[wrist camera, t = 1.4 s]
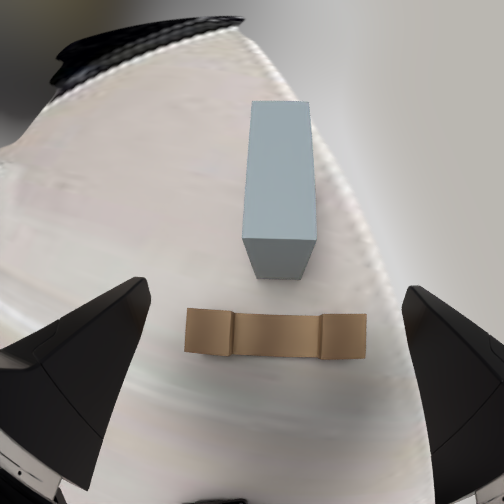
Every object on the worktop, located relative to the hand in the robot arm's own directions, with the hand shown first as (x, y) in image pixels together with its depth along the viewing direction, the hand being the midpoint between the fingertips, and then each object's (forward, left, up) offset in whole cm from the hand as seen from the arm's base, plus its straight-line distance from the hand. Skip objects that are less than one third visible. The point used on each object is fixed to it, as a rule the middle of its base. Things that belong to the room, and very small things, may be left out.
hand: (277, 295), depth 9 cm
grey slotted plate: (+7, -3, -14) cm, 16 cm away
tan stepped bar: (-1, 0, -14) cm, 14 cm away
